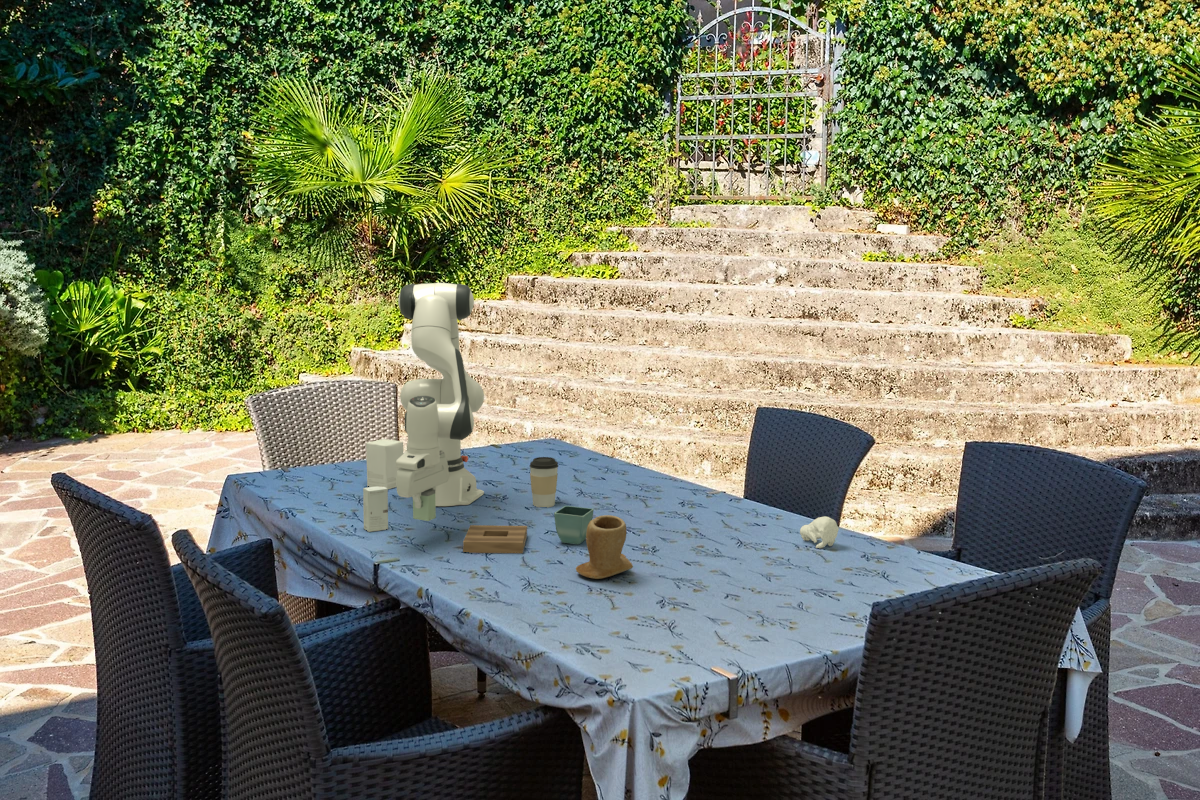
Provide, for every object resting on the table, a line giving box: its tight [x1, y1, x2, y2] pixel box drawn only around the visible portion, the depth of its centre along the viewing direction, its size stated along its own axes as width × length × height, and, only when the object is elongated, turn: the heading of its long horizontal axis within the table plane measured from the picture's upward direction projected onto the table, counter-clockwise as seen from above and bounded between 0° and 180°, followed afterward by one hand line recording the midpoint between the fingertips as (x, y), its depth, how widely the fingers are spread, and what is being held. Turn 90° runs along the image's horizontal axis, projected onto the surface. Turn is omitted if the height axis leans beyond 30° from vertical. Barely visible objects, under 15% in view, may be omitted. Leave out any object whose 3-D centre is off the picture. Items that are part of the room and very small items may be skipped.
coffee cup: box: [529, 456, 559, 508], centre depth 340 cm, size 9×9×15 cm
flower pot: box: [554, 505, 594, 545], centre depth 302 cm, size 9×9×9 cm
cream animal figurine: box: [799, 516, 840, 549], centre depth 303 cm, size 6×8×12 cm
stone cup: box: [575, 514, 634, 580], centre depth 275 cm, size 15×12×15 cm
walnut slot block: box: [462, 524, 528, 554], centre depth 300 cm, size 16×16×3 cm
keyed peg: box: [412, 489, 437, 522], centre depth 299 cm, size 4×5×8 cm
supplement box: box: [365, 438, 404, 490], centre depth 362 cm, size 9×9×15 cm
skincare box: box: [362, 486, 389, 533], centre depth 312 cm, size 6×4×12 cm
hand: (424, 505), depth 299 cm, fingers closed on keyed peg, 3 cm apart
